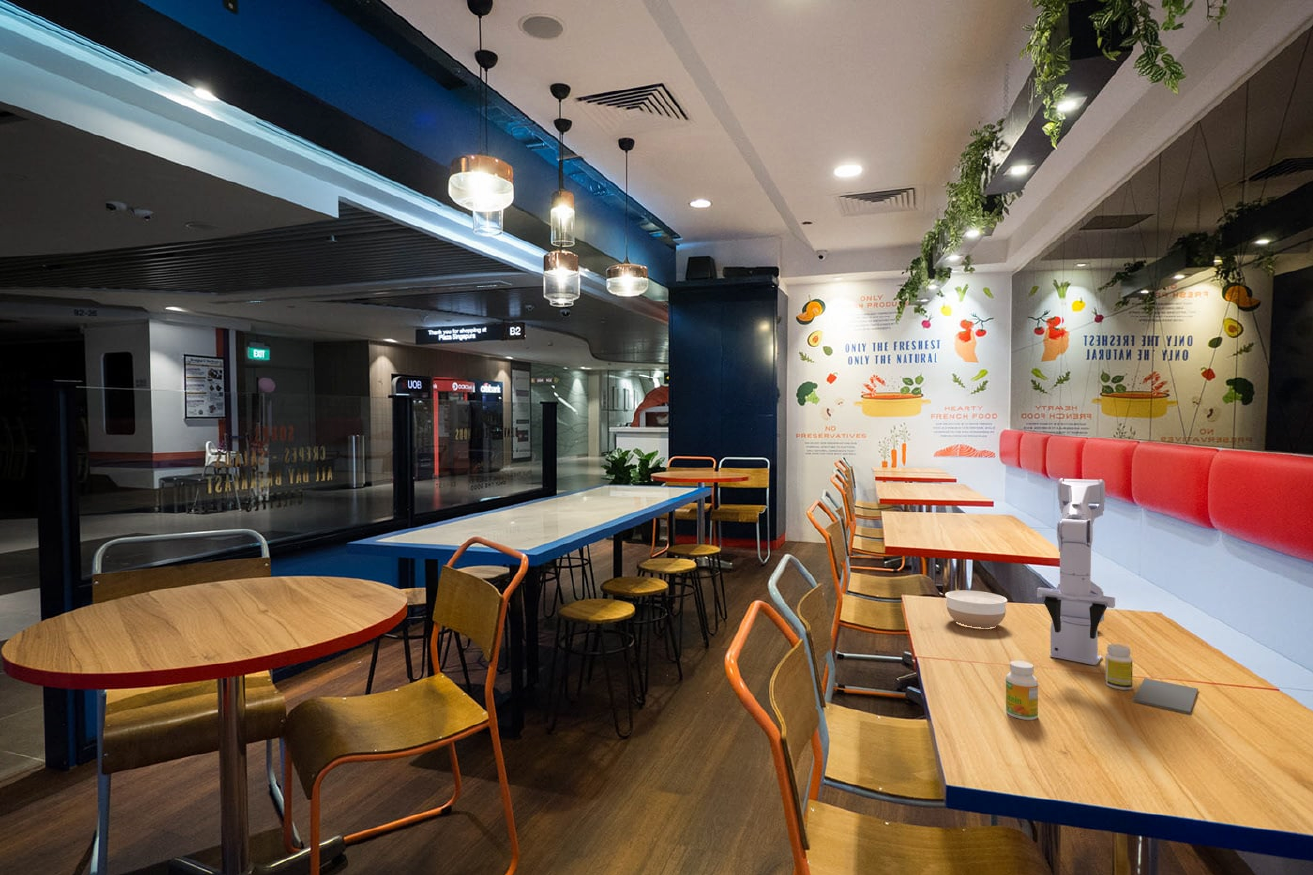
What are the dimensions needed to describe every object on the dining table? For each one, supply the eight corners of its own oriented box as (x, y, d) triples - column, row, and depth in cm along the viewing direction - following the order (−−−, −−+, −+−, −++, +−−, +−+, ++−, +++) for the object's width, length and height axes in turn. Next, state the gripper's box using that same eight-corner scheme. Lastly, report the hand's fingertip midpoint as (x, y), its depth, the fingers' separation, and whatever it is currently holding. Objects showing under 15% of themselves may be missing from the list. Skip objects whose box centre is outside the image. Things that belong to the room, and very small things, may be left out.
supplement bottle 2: (1137, 691, 138) (1136, 651, 138) (1111, 689, 139) (1111, 649, 139) (1125, 683, 143) (1125, 644, 143) (1101, 681, 144) (1101, 642, 144)
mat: (1132, 701, 132) (1132, 699, 132) (1144, 680, 144) (1144, 677, 144) (1190, 714, 126) (1190, 711, 126) (1197, 690, 138) (1197, 688, 138)
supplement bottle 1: (999, 711, 128) (999, 661, 128) (1019, 707, 130) (1018, 657, 130) (1024, 722, 123) (1024, 670, 123) (1044, 717, 125) (1044, 666, 125)
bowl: (953, 631, 181) (953, 602, 181) (938, 615, 197) (938, 589, 197) (1016, 633, 179) (1016, 604, 179) (996, 617, 194) (996, 591, 194)
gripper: (1033, 571, 148) (1033, 631, 148) (1110, 580, 138) (1111, 645, 138) (1041, 566, 153) (1041, 625, 153) (1116, 575, 143) (1117, 638, 143)
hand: (1075, 634), depth 146 cm, fingers open, 6 cm apart
